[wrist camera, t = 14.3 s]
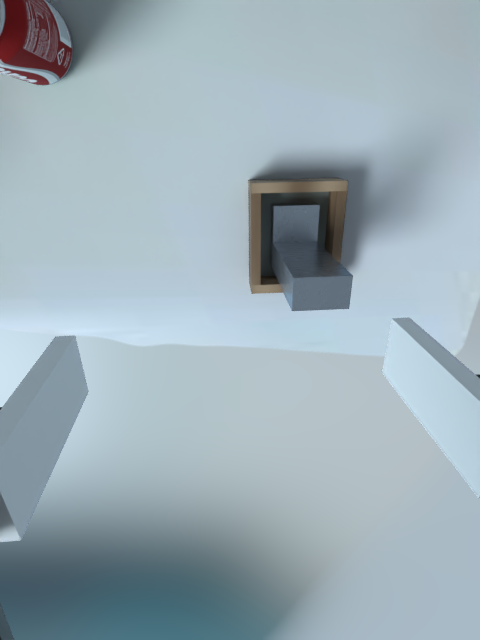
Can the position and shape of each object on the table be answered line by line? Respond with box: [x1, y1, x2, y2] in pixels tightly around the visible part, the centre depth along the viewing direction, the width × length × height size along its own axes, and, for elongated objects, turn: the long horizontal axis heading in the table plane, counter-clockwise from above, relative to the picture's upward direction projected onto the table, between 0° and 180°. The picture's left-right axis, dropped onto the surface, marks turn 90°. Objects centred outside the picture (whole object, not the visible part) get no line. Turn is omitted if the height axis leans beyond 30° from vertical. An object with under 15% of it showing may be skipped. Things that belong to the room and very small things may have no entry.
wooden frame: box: [248, 178, 348, 294], centre depth 42 cm, size 10×12×4 cm
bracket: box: [270, 202, 353, 311], centre depth 37 cm, size 7×5×14 cm
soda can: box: [0, 0, 73, 85], centre depth 29 cm, size 7×7×12 cm
